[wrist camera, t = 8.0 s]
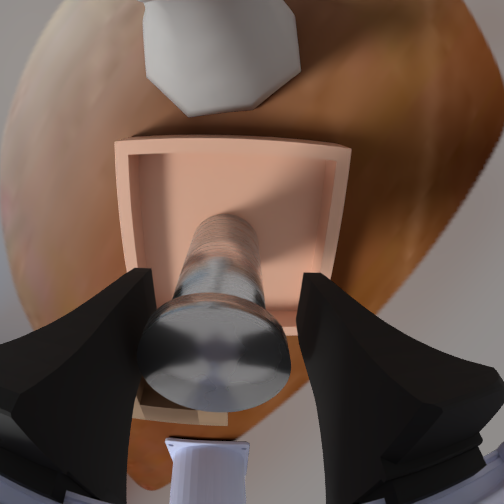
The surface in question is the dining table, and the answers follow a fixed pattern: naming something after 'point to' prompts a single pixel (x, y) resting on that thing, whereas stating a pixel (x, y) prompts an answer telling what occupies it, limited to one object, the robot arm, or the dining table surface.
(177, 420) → the brown square frame
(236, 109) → the flask
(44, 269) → the dining table surface
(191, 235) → the tray
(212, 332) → the pin
